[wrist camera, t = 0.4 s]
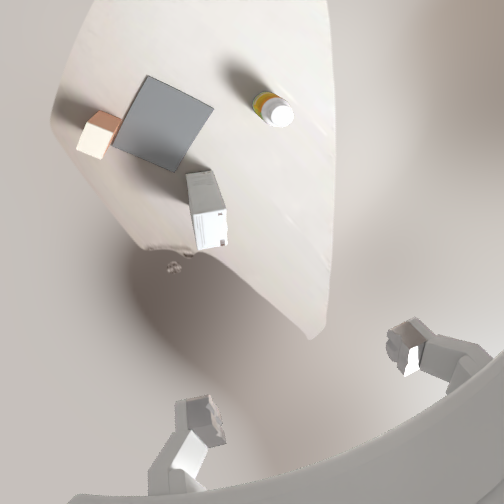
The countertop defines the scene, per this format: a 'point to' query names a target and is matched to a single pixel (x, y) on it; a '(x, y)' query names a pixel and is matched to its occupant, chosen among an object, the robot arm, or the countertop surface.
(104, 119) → the block
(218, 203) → the skincare box
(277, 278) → the countertop surface
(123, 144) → the mat
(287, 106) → the supplement bottle
